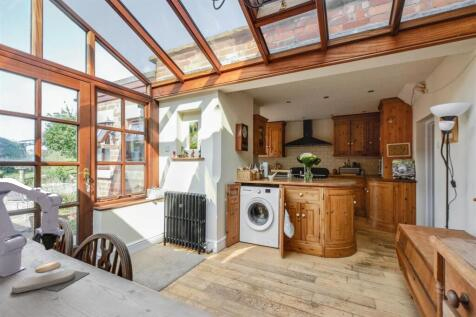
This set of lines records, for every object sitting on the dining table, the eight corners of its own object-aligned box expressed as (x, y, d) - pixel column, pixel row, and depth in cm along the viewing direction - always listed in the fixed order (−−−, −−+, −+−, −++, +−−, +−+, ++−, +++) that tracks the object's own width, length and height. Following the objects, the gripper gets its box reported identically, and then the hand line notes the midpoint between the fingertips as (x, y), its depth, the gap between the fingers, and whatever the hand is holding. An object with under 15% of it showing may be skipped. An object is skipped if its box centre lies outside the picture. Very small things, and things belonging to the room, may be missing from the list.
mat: (33, 287, 83) (33, 287, 83) (68, 270, 97) (68, 269, 97) (57, 291, 81) (57, 290, 81) (89, 273, 95) (89, 272, 95)
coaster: (30, 271, 96) (30, 270, 96) (51, 262, 105) (51, 261, 105) (45, 273, 94) (45, 272, 94) (65, 264, 103) (65, 263, 103)
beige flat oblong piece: (15, 285, 84) (8, 296, 77) (16, 279, 84) (8, 290, 77) (75, 272, 95) (73, 280, 88) (76, 267, 95) (73, 275, 88)
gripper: (28, 221, 94) (26, 251, 93) (53, 223, 91) (52, 254, 91) (45, 217, 101) (44, 245, 100) (69, 219, 98) (68, 248, 97)
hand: (48, 249), depth 96 cm, fingers closed
